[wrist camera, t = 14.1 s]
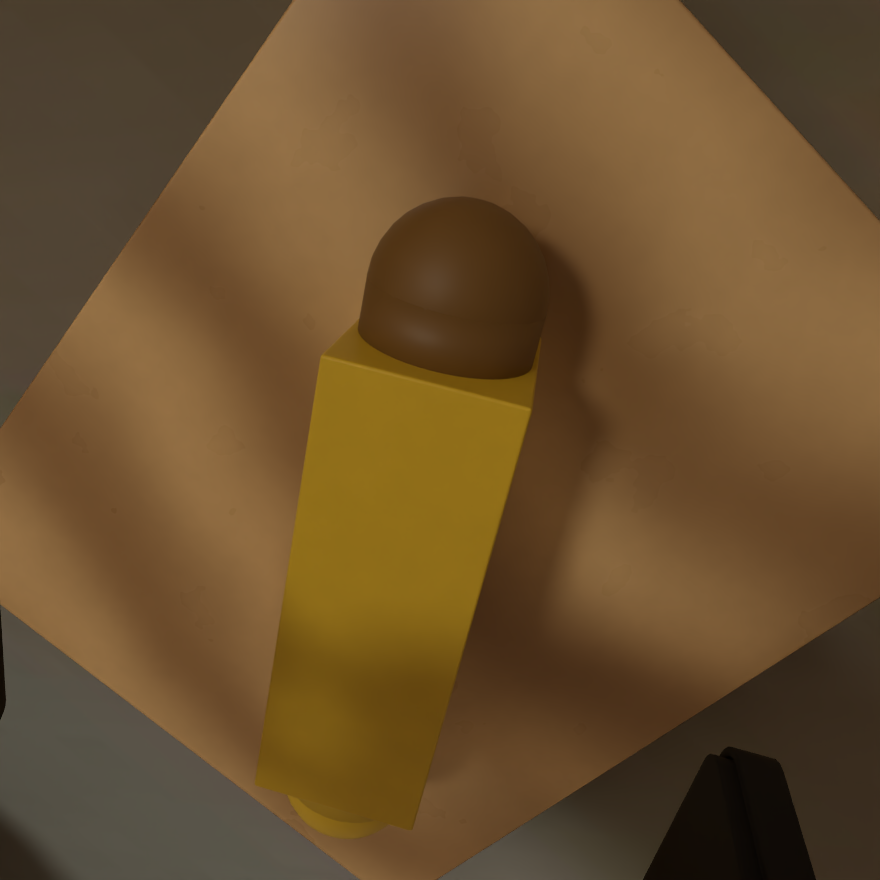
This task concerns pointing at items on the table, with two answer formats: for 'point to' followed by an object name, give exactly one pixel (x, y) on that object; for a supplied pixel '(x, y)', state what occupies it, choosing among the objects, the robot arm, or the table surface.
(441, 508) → the yellow bar
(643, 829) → the table surface
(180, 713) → the board
